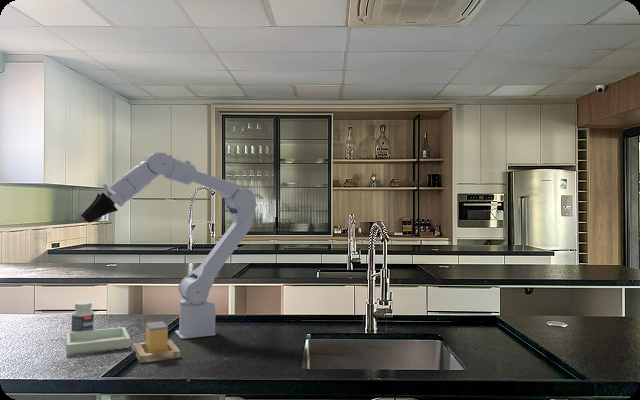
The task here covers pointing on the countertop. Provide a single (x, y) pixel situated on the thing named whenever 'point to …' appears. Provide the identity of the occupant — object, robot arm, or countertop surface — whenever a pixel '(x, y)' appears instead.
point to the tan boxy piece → (156, 337)
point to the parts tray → (96, 340)
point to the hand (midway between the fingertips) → (84, 219)
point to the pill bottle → (82, 317)
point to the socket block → (143, 357)
